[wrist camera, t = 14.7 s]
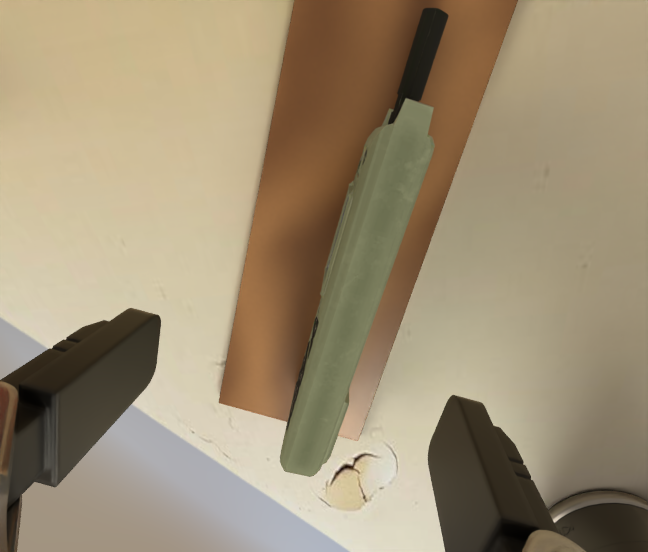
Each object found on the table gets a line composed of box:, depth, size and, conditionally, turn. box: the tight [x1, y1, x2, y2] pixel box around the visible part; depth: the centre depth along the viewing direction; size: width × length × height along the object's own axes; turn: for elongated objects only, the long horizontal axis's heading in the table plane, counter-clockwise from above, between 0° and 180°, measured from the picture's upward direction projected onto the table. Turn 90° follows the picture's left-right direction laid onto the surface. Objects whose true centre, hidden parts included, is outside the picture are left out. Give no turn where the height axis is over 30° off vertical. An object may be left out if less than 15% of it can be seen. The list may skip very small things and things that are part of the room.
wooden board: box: [219, 0, 518, 441], centre depth 24 cm, size 11×30×1 cm, turn 166°
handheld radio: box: [280, 8, 448, 477], centre depth 21 cm, size 7×3×25 cm
